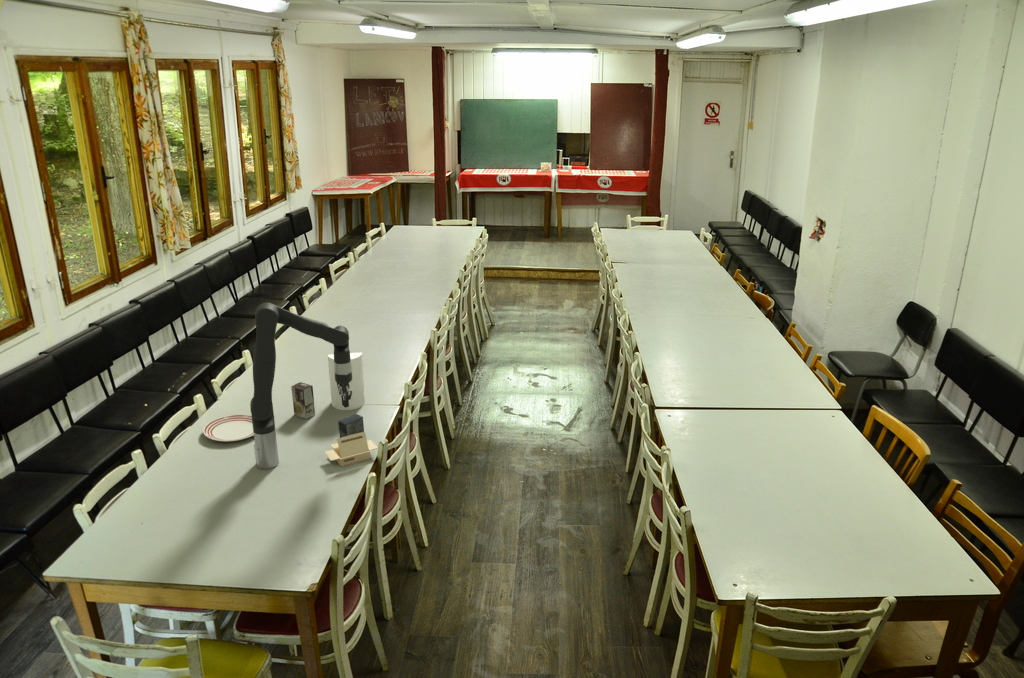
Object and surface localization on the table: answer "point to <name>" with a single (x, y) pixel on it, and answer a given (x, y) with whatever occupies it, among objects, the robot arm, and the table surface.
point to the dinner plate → (230, 428)
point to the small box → (351, 425)
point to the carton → (349, 460)
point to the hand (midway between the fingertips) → (345, 405)
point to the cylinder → (355, 384)
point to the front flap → (352, 444)
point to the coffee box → (303, 400)
